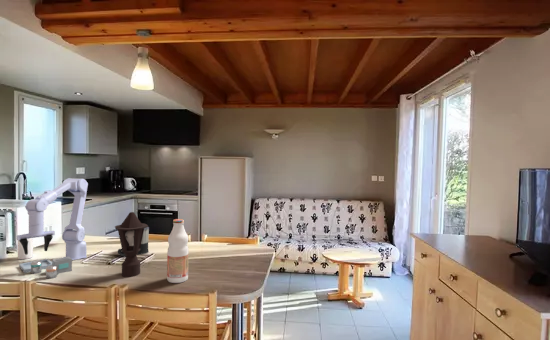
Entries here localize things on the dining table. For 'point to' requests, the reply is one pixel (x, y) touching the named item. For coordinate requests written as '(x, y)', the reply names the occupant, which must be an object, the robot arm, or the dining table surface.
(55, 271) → the terracotta cartridge
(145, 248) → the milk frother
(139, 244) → the lantern
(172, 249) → the fruit juice
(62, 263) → the wall unit
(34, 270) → the teal cartridge
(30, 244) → the can
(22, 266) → the tray
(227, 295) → the dining table surface
